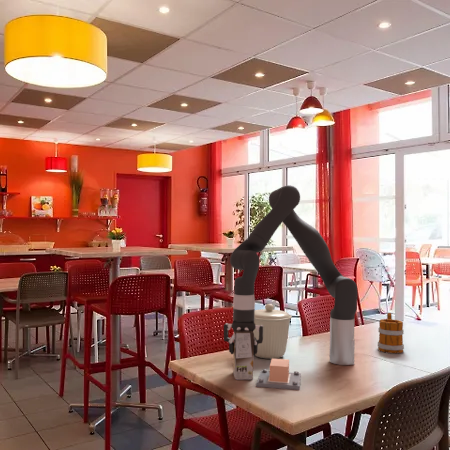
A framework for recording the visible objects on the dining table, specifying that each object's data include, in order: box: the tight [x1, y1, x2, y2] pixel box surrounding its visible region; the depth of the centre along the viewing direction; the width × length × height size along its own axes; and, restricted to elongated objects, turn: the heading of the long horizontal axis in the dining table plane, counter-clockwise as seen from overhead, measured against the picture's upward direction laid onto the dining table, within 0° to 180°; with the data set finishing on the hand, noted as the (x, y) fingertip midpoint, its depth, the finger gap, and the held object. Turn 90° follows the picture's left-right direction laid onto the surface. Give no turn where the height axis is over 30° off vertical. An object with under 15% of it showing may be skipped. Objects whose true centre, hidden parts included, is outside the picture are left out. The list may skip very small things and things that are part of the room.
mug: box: [377, 312, 405, 354], centre depth 213 cm, size 11×16×15 cm, turn 166°
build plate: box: [255, 368, 302, 391], centre depth 165 cm, size 14×14×2 cm
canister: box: [253, 303, 293, 360], centre depth 198 cm, size 18×18×21 cm
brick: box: [269, 358, 290, 382], centre depth 165 cm, size 6×9×5 cm, turn 170°
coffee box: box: [232, 330, 255, 381], centre depth 170 cm, size 9×6×16 cm
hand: (243, 354), depth 170 cm, fingers closed on coffee box, 7 cm apart
